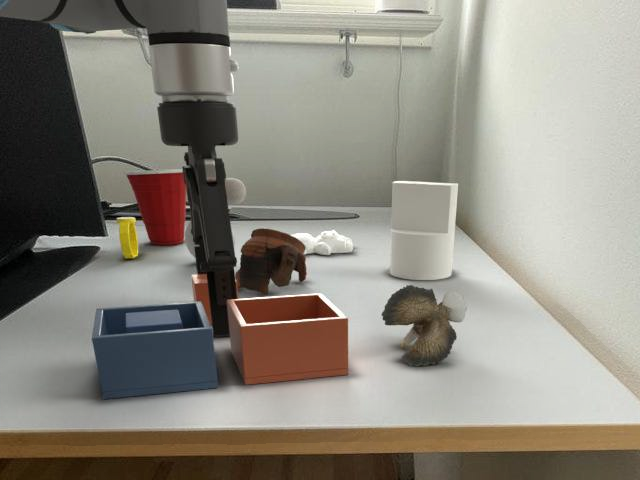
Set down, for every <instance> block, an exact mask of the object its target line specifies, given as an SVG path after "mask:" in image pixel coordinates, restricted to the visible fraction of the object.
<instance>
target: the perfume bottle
mask: <svg viewBox="0 0 640 480" xmlns="http://www.w3.org/2000/svg"><path fill="white" fill-rule="evenodd" d="M225 187H226V193H227V202H228V205H237V204H241V203H242V202H244V201H245V200H244V199H246V195H247V188H246V186H245V184H244V183H243V181H241V180H240V179H238V178H234V177H226V185H225ZM191 229H192V227H191V220H190V221H189V222H188V224H187V225H186V227H185V231H184V241H185V246H186V248H187V250H188V252H189V253H190V255H191V256H192V257H193V258H194V259H195V260H196V257H195V249H194V247H196V246H199V245H195V243H194V242H193V235H192V234H191ZM231 230H232V237H233V244H234V247H235V246H236V236H235V231H234V229H233V227H232V226H231Z"/></svg>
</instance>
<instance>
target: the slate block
mask: <svg viewBox="0 0 640 480" xmlns="http://www.w3.org/2000/svg"><path fill="white" fill-rule="evenodd" d="M125 318H126V333H140V332H153V331H165V330H178V329H183V326H182V321H181V317H180V314H179V310H163V311H149V312H135V313H126V314H125Z"/></svg>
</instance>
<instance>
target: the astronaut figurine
mask: <svg viewBox="0 0 640 480" xmlns="http://www.w3.org/2000/svg"><path fill="white" fill-rule="evenodd" d="M290 235H291V236H293V237H295V238H297V239H298V240H300V241H301V242H302V243H303V244H304V245H305V247H306V249H305V251H304V256H305V255H310V254H318V255H323V256H330V255H331V254H349V253H352V251H353V249H354V245H353V240H352V239H351V238H349V237H346V236H345V235H340V234H339V233H338V232H337V231H336V230H334V229H332V230H325V231H322V232H320V234H319V235H317V236H316V237H314V236H312V235H311V234H309V233H306V232H299V233H294V234H290Z"/></svg>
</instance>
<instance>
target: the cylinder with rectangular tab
mask: <svg viewBox="0 0 640 480" xmlns="http://www.w3.org/2000/svg"><path fill="white" fill-rule="evenodd" d="M458 191H459V183H451V182H433V181H414V180H413V181H411V180H395V181H392V183H391V211H390V212H391V213H390V248H389V249H390V250H389V275H391V276H392V277H394V278H398V279H404V280H409V281H411V280H412V281H437V280H443V279H447V278H449V277H451V276H452V275H453V273H452V272H453V263H454V262H453V260H454V246H455V245H454V244H455V235H456V233H455V232H456V219H457V207H458V204H457V203H458V194H459V193H458Z"/></svg>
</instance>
